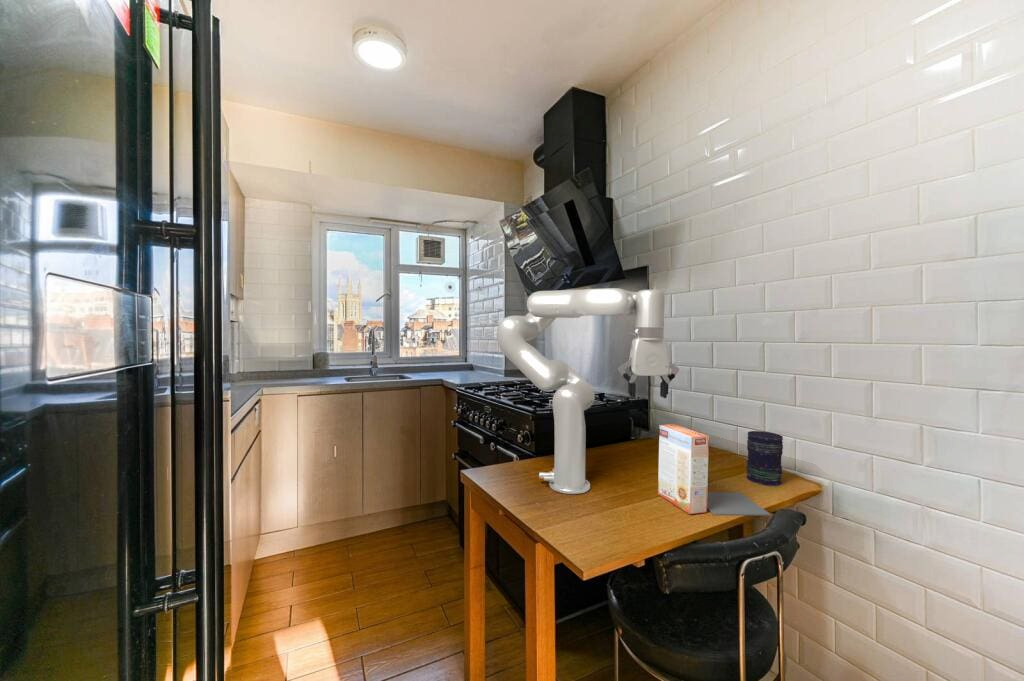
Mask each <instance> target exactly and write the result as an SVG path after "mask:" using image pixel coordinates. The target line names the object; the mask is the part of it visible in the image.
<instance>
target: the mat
mask: <svg viewBox="0 0 1024 681" xmlns="http://www.w3.org/2000/svg"><path fill="white" fill-rule="evenodd" d="M707 511H708V512H710V514H712V515H713V516H758V517H759V516H762V517H763V516H771V513H770V512H768V511H767V510H765V508H763V507H762V506H761V505H759V504H758V503H756V502H754V501H753V500H752V499H750V498H749V497H748V496H746V495H745V494H744V493H743V492H736V491H735V492H733V491H731V492H730V491H729V492H726V491H723V492H722V491H721V492H720V491H707Z"/></svg>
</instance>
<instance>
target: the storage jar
mask: <svg viewBox="0 0 1024 681" xmlns="http://www.w3.org/2000/svg"><path fill="white" fill-rule="evenodd" d="M783 438H784V437H783V435H780V434H778V433H775V432H771V431H770V432H769V431H761V430H760V431H759V430H752V431H751V430H750V431H748V432H747V440H746V442H747V443H746V445H747V446H746V448H747V461H746V466H745V467H746V479H747V480H748V481H750V482H751V483H753V484H757V485H760V486H766V487H780V486H781V485H782V477H783V465H782V455H783V449H784V445H783V444H784V442H783V441H784V439H783Z"/></svg>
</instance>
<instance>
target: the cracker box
mask: <svg viewBox="0 0 1024 681" xmlns="http://www.w3.org/2000/svg"><path fill="white" fill-rule="evenodd" d="M658 431H659V432H658V433H659V436H658V437H659V439H658V469H657V470H658V476H657V477H658V479H657V483H658V484H657V495H658V496H660V497H662V498H664V499H665V500H667V501H668V502H670V503H671V504H673V505H674V506H676V507H677V508H679V509H681V511H683V512H685V513H687V515H695V514H704V513H707V512H708V509H707V492H708V485H709V484H708V481H709V480H708V479H709V449H710V447H709V446H710V435H707V434H704V433H701V432H698V431H695V430H692V429H690V428H687V427H683V426H681V425H679V424H674V423H673V424H671V423H670V424H659V430H658Z"/></svg>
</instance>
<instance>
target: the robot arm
mask: <svg viewBox="0 0 1024 681" xmlns="http://www.w3.org/2000/svg"><path fill="white" fill-rule="evenodd" d="M665 299H666V297H665V292H664V291H663V290H660V289H641V290H639V291H630V290H626V289H623V288H617V287H612V288H611V287H610V288H609V287H607V288H587V289H563V290H562V289H560V290H538V291H535V292H532V293H531V294H530V295H529V297H528V298H527V299H526V300H527V301H526V307H527V310H528V313H526V314H525V315H517V314H516V315H509V316H506V317H504V318H503V319H502V320H500V322H499V323H498V325H497V330H496V341H497V344H498V347H499V348H500V350H501V352H502V353H503V354H504V356H505V357H506V358H507V359H508V360H509V361H510V362H511V363H512V364H513V365H514V366H515V367H516V368H517V369H518V370H520V372H521V373H522V374H524V375H523V376H525V377H526V378H527V379H528V380H530V381H531V383H532V384H533V385H534V386H535V387H536V388H538V389H539V390H540V391H543V392H548V391H552V390H554V391H555V392H554V395H553V397H552V403H551V404H552V412H553V420H554V422H553V424H554V447H553V449H554V451H553V452H554V455H553V456H554V458H553V460H554V461H553V462H554V463H553V465H554V466H553V467H554V468H552V471H548V472H545V471H539V472H538V478H539V479H543V481H544V482H545V481H547V482H548V485H549V487H550V489H551V490H553V491H555V492H558V493H561V494H567V495H578V494H579V495H580V494H584V493H587V492H588V491H589V490H590V489H591V483H590V481H588V479H586V449H587V448H586V445H587V444H586V442H587V438H586V437H587V436H586V434H587V433H586V432H587V431H586V429H587V428H586V427H587V426H586V419H585V412H584V411H586V410H588V409H589V408H591V407H592V406H593V404H594V402H595V397H596V395H595V391H594V389H593V387H592V386H591V385H590V383H588V382H587V381H586V380H585V379H584V378H583V377H582V376H581V375H580V374H579V373H577V372H576V371H575V370H574V368H572V367H571V366H570V365H568V364H567V363H566V362H564V361H562V360H561V359H548V358H547V357H546V356H544V355H543V354H542V353H540V352H539V350H537V349H536V348H535V347H534V346H533V345H531V344H529V343H528V342H529V341H532V340H534V339H536V338H537V337H539V335H541V334H542V332H544V331H545V330H546V329H547V328H548V327H549V326H550V325H551V324H552V323H553V322H554V321H555V320H556V319H558V318H561V319H564V318H565V319H566V318H567V319H568V318H569V319H577V318H581V317H586V316H590V317H591V316H609V317H610V316H611V317H612V316H613V317H615V316H616V317H623V318H626V317H632V316H633V317H634V316H635V327H634V329H630V331H629V335H631V336H634V338H633V339H632V341H631V346H630V350H629V352H630V353H629V359H628V360H627V361H626V362H624V363H623V364H621V365H620V366H618V368H617V371H618V372H619V373H620V374H621V377H623V378H624V379H625V380H626V381H627V394H628V395H629V397H630V398H632V399H634V398H635V399H636V387H637V385H636V383H635V381H636V379H637V378H638V376H640V377H641V376H645V377H649V376H650V377H659V378H660V380H661V382H660V386H659V387H660V388H659V389H660V390H659V396H660V397H661V398H663V399H667V398H668V395H669V385H670V383H671V381H672V380H673V379H675V378H676V375H678V373H679V372H680V368H679V367H678V366H676V365H675V364H674V363H672V362H671V361H670V352H669V350H670V349H669V345H668V339H664V336H665V333H664V332H665V330H664V329H665ZM527 341H528V342H527ZM627 369H628V370H629V373H630V374H628V373H627V371H626V370H627ZM670 369H671V371H670Z"/></svg>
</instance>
